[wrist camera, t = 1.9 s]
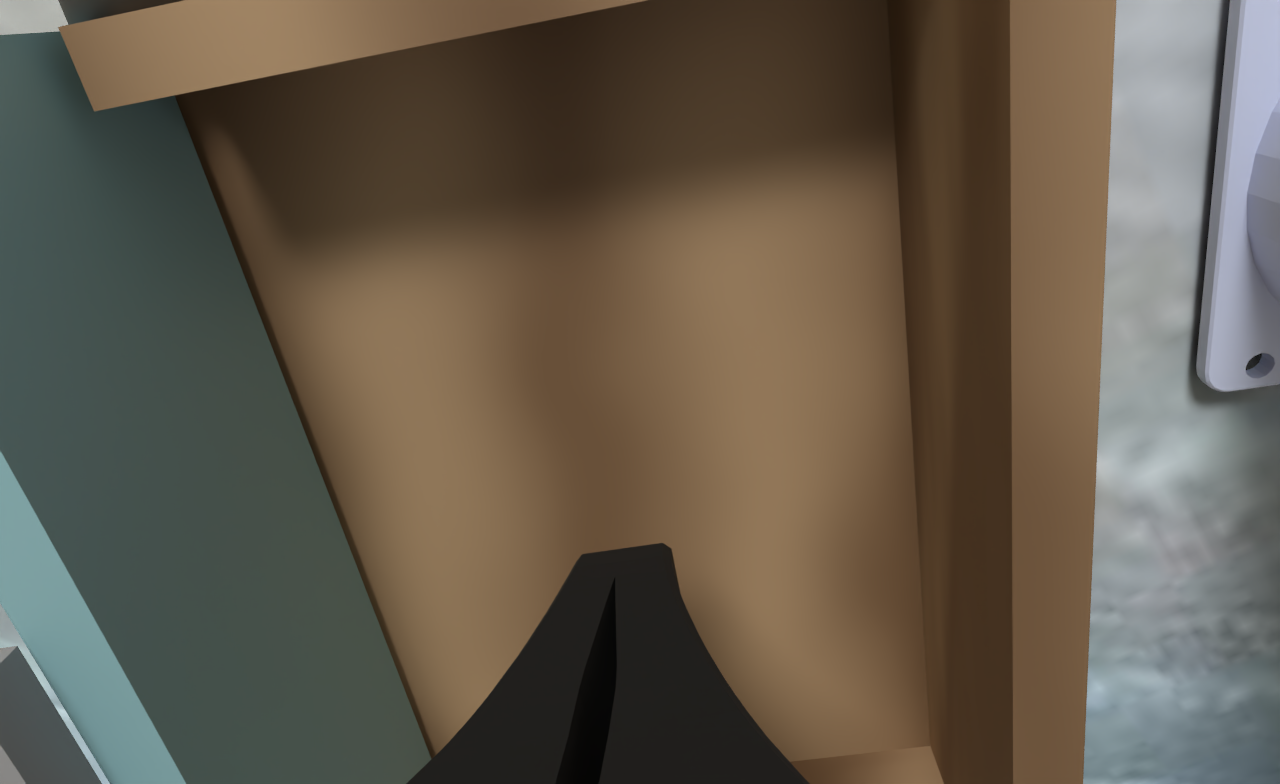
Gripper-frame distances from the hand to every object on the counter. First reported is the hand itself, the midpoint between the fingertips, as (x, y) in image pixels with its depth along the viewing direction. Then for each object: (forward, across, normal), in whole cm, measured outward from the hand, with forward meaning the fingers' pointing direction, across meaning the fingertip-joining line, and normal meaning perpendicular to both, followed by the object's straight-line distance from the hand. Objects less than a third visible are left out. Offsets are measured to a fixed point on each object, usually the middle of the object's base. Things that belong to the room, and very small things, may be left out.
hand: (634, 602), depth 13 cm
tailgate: (+4, +7, 0) cm, 8 cm away
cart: (+6, 0, 0) cm, 6 cm away
